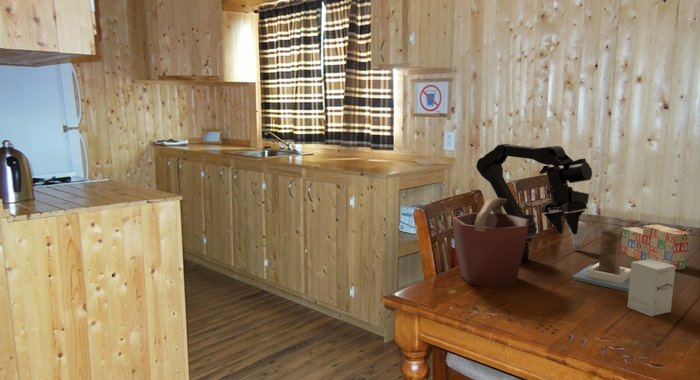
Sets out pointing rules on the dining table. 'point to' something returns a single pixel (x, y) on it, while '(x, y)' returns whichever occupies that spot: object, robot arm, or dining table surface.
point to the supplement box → (651, 287)
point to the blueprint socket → (605, 277)
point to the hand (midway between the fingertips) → (567, 233)
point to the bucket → (490, 245)
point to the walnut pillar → (610, 251)
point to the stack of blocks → (656, 244)
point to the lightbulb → (579, 235)
